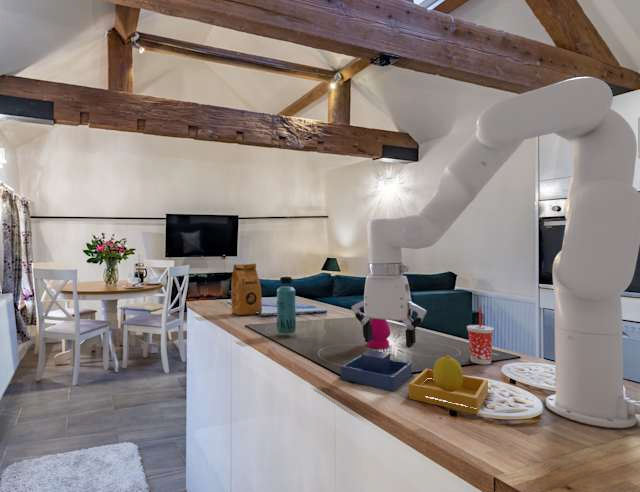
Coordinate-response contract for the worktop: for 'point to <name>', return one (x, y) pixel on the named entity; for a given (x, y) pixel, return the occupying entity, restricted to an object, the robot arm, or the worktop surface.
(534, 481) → the worktop surface
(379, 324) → the pepper mill
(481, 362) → the beverage cup
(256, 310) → the coffee package
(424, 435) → the worktop surface
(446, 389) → the lemon
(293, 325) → the beverage bottle
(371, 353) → the navy block
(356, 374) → the blue tray
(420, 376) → the mustard tray
